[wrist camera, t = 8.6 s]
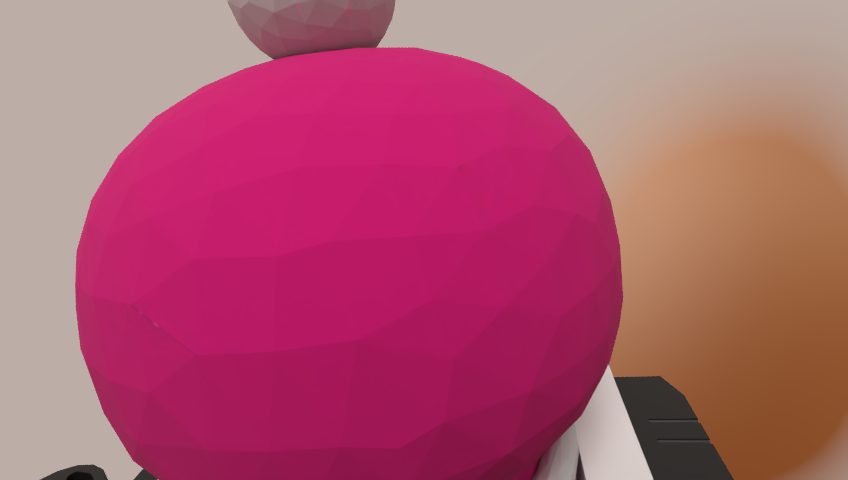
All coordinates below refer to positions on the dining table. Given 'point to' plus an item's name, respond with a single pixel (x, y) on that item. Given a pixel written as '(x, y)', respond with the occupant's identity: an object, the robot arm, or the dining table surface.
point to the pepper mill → (350, 267)
